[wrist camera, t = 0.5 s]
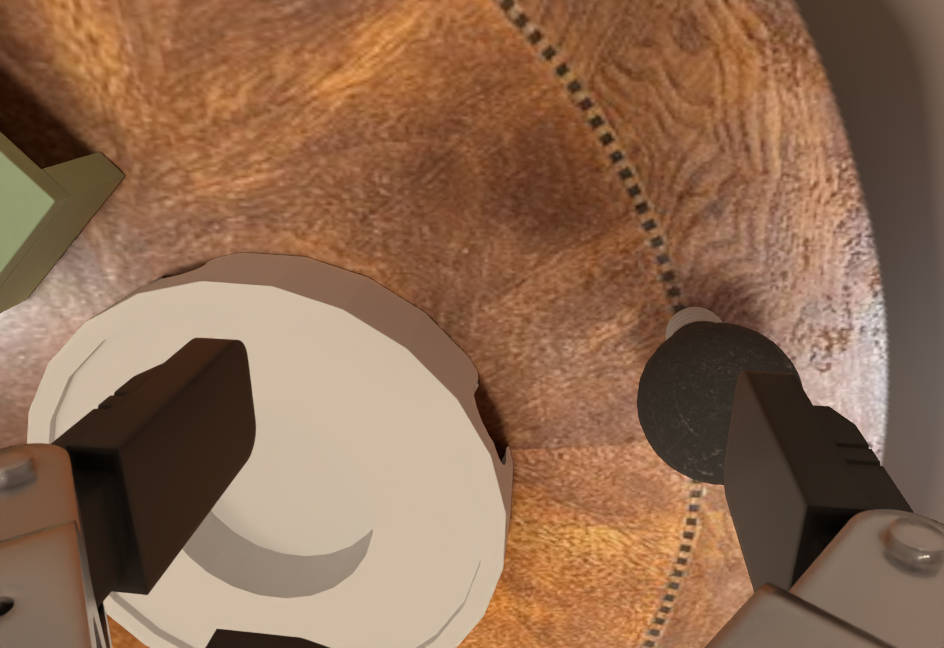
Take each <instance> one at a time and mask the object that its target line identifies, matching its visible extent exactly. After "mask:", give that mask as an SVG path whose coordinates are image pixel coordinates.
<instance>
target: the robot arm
mask: <svg viewBox="0 0 944 648" xmlns="http://www.w3.org/2000/svg"><path fill="white" fill-rule="evenodd" d="M255 437H256V419H255V411H254V403H253V394H252V386H251V378H250V370H249V361H248V354H247V350H246V347H245V345H244V344H243V342H242V341H240V340H233V339H215V338H198V337H196V338H193V339H192V340H190V341H189V342H188V343H187V344H186V345H184V346H183V347H182V348H181V349H180V350H178V351H177V352H176V353H175V354H174V355H172V356H171V357H170V358H169V359H168V360H166V361H165V362H164V363H162V364H160V365H158V366H155V367H153V368H151V369H149V370H147V371H144V372H142V373H140V374H138V375H136V376H133V377H132V378H131V379H130V380H129V381H127V382H126V383H125V384H124V385H122V386H121V387H120V388H119V389H117V390H116V391H115V392H114V396H112V395H110V396H109V397H108V398H106V399H105V400H104V401H103V402H101V403H100V404H99V405H98V409H93V410H92V411H90V412H89V413H88V414H87V415H85V416H84V417H83V418H82V419H81V420H79V421H78V422H77V423H76V424H74V425H73V426H72V427H71V428H69V429H68V430H67V431H66V432H65V433H63V434H62V435H61V436H60V437H58V438H57V439H56V440H55V441H53V442H52V443H51V444H45V443H29V444H21V445H15V446H10V447H6V448H2V449H0V648H112V643H111V637H110V631H109V625H108V619H107V615H106V611H105V606H104V602H103V601H104V600H105V599H106V598H107V597H108V595H109V594H110V593H111V592H122V593H131V594H141V595H148V594H149V593H150V591H151V590H152V589H153V587H154V586H155V585H156V583H157V582H158V581H159V579H160V578H161V577H162V575H163V574H164V573H165V571H166V570H167V569H168V567H169V566H170V565H171V563H172V562H173V561H174V559H175V558H176V556H177V555H178V554H179V552H180V551H181V550H182V548H183V547H184V546H185V544H186V543H187V542H188V540H189V539H190V538H191V536H192V535H193V534H194V532H195V531H196V530H197V528H198V527H199V526H200V524H201V523H202V521H203V520H204V519H205V517H206V516H207V515H208V513H209V512H210V511H211V509H212V508H213V507H214V505H215V504H216V503H217V501H218V500H219V499H220V497H221V496H222V495H223V493H224V492H225V491H226V489H227V488H228V487H229V485H230V484H231V482H232V481H233V480H234V478H235V477H236V476H237V474H238V473H239V472H240V470H241V469H242V468H243V466H244V465H245V464H246V462H247V461H248V459H249V458H250V456H251V453H252V451H253V447H254V443H255ZM724 488H725V495H726V500H727V503H728V506H729V510H730V513H731V516H732V520H733V523H734V526H735V530H736V533H737V536H738V540H739V543H740V546H741V550H742V553H743V556H744V560H745V563H746V566H747V570H748V573H749V576H750V580H751V583H752V586H753V590H754V594H753V595H752V596H751V597H750V598H749V599H748V601H747V602H746V603H745V604H744V605H743V606H742V607H741V608H740V609H739V610H738V612H737V613H736V614H735V615H734V616H733V617H732V618H731V619H730V620H729V621H728V622H727V624H726V625H725V626H724V627H723V628H722V629H721V630H720V631H719V632H718V633H717V635H716V636H715V637H714V638H713V639H712V640H711V641H710V642H709V643H708V644H707V645H706V647H705V648H944V524H942V523H940V522H938V521H936V520H933V519H930V518H927V517H925V516H922V515H918V514H915V513H914V512H913V511H912V509H911V508H910V506H909V505H908V503H907V502H906V500H905V499H904V497H903V496H902V494H901V493H900V491H899V490H898V488H897V487H896V485H895V484H894V482H893V481H892V479H891V478H890V476H889V475H888V473H887V472H886V470H885V469H884V467H883V466H880V461H879V460H878V458H877V457H876V455H875V454H874V452H873V451H872V449H869V445H868V443H867V442H866V440H865V439H864V437H863V436H862V434H861V433H860V431H859V430H858V428H857V427H856V425H855V424H853V423H852V422H850V421H849V420H848V419H846V418H845V417H843V416H842V415H840V414H839V413H838V412H836V411H835V410H833V409H832V408H830V407H829V406H813V405H812V403H811V402H810V400H809V398H808V397H807V395H806V393H805V391H804V390H803V388H802V386H801V385H800V383H799V381H798V380H797V378H796V376H795V375H794V374H793V373H783V372H766V371H748V370H742V371H741V372H740V374H739V376H738V379H737V383H736V388H735V395H734V401H733V408H732V414H731V421H730V427H729V434H728V440H727V447H726V454H725V461H724ZM206 648H330V647H327V646H324V645H321V644H318V643H316V642H313V641H310V640H307V639H304V638H300V637H291V636H282V635H272V634H263V633H254V632H244V631H235V630H225V629H216V631H215V632H214V634H213V636H212V637H211V639H210V641H209V642H208V644H207V646H206Z"/></svg>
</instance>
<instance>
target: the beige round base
mask: <svg viewBox="0 0 944 648" xmlns="http://www.w3.org/2000/svg"><path fill="white" fill-rule="evenodd" d="M196 337H198V338H215V339H233V340H240V341H242V342H243V344H244V345H245V347H246V350H247V354H248V361H249V370H250V378H251V386H252V394H253V403H254V411H255V419H256V437H255V443H254V447H253V451H252V453H251V456H250V458H249V459H248V461H247V462H246V464H245V465H244V466H243V468H242V469H241V470H240V472H239V473H238V474H237V476H236V477H235V478H234V480H233V481H232V482H231V484H230V485H229V487H228V488H227V489H226V491H225V492H224V493H223V495H222V496H221V497H220V499H219V500H218V501H217V503H216V504H215V505H214V507H213V508H212V509H211V511H210V512H209V513H208V515H207V516H206V517H205V519H204V520H203V521H202V523H201V524H200V526H199V527H198V528H197V530H196V531H195V532H194V534H193V535H192V536H191V538H190V539H189V540H188V542H187V543H186V544H185V546H184V547H183V548H182V550H181V551H180V552H179V554H178V555H177V556H176V558H175V559H174V561H173V562H172V563H171V565H170V566H169V567H168V569H167V570H166V571H165V573H164V574H163V575H162V577H161V578H160V579H159V581H158V582H157V583H156V585H155V586H154V587H153V589H152V590H151V591H150V593H149V594H148V595H141V594H131V593H122V592H111V593H110V594H109V595H108V597H107V598H106V599H105V600H104V601H103V602H104V606H105V611H106V613H107V614H108V615H109V616H110V617H111V618H113V619H114V620H115V621H116V622H118V623H119V624H120V625H121V626H123V627H124V628H125V629H126V630H128V631H129V632H130V633H131V634H132V635H134V636H135V637H136V638H137V639H139V640H140V641H141V642H142V643H144V644H145V645H146V646H148V647H150V648H206V646H207V644H208V642H209V641H210V639H211V637H212V636H213V634H214V632H215V631H216V629H225V630H235V631H244V632H254V633H263V634H272V635H282V636H291V637H300V638H304V639H307V640H310V641H313V642H316V643H318V644H321V645H324V646H327V647H330V648H456V647H457V646H458V645H459V644H460V643H461V642H462V640H463V639H464V638H465V637H466V636H467V635H468V634H469V632H470V631H471V630H472V629H473V628H474V627H475V625H476V624H477V623H478V622H479V621H480V620H481V618H482V617H483V616H484V614H485V612H486V609H487V607H488V605H489V602H490V600H491V597H492V595H493V592H494V590H495V587H496V585H497V582H498V580H499V577H500V575H501V572H502V570H503V566H504V559H505V551H506V544H507V537H508V530H509V523H510V516H511V499H512V481H513V460H512V456H511V452H510V448H509V446H508V447H507V448H506V451H505V453H504V454H503V456H502V458H501V460H500V459H499V457H498V454H497V452H496V449H495V445H494V442H493V441H492V439H491V438H490V436H489V434H488V432H487V430H486V429H485V427H484V425H483V423H482V420H481V417H480V415H479V412H478V410H477V406H476V402H475V398H474V393H475V391H476V390H477V388H478V386H479V382H478V371H477V370H476V368H475V366H474V364H473V363H472V361H471V359H470V358H469V357H468V356H467V355H466V354H465V353H464V352H463V351H462V350H461V349H460V348H459V347H458V346H457V345H456V344H455V343H454V342H453V341H452V339H451V338H450V337H449V336H448V335H447V334H446V333H445V332H444V331H443V330H442V329H441V328H440V327H439V326H438V325H437V324H436V323H435V322H434V321H433V320H432V319H431V318H430V317H429V316H428V315H427V314H426V313H425V312H423V311H422V310H420V309H419V308H417V307H415V306H414V305H412V304H411V303H409V302H407V301H406V300H404V299H402V298H401V297H399V296H398V295H396V294H394V293H393V292H391V291H390V290H388V289H386V288H385V287H383V286H382V285H380V284H378V283H377V282H375V281H373V280H372V279H370V278H369V277H366V276H363V275H360V274H357V273H354V272H350V271H347V270H344V269H341V268H338V267H335V266H332V265H329V264H326V263H323V262H320V261H317V260H314V259H311V258H308V257H303V256H288V255H274V254H259V253H244V252H241V253H236V254H231V255H226V256H221V257H216V258H214V259H212V260H210V261H208V262H207V264H206V265H204V266H202V267H200V268H198V269H195V270H193V271H190V272H187V273H184V274H180V275H176V276H172V277H168V278H163V276H161V277H159V278H157V279H156V280H154V281H152V282H150V283H148V284H146V285H145V286H143V287H141V288H139V289H137V290H136V291H134V292H132V293H131V294H129V295H128V296H126V297H124V298H123V299H121V300H120V301H118V302H117V303H115V304H113V305H112V306H110V307H109V308H107V309H105V310H104V311H102V312H101V313H99V314H98V315H96V316H94V317H93V318H91V319H90V320H88V321H86V322H85V323H84V324H83V325H82V326H81V327H80V329H79V330H78V331H77V332H76V333H75V334H74V335H73V336H72V337H71V339H70V340H69V341H68V342H67V343H66V344H65V345H64V346H63V347H62V349H61V350H60V351H59V352H58V353H57V354H56V355H55V356H54V357H53V359H52V360H51V361H50V362H49V363H48V365H47V368H46V370H45V373H44V375H43V378H42V380H41V383H40V385H39V388H38V390H37V393H36V395H35V398H34V400H33V403H32V405H31V408H30V410H29V418H28V436H27V444H29V443H45V444H51V443H52V442H53V441H55V440H56V439H57V438H58V437H60V436H61V435H62V434H63V433H65V432H66V431H67V430H68V429H69V428H71V427H72V426H73V425H74V424H76V423H77V422H78V421H79V420H81V419H82V418H83V417H84V416H85V415H87V414H88V413H89V412H90V411H92V410H93V409H98V405H99V404H100V403H101V402H103V401H104V400H105V399H106V398H108V397H109V396H110V395H112V396H114V392H115V391H116V390H117V389H119V388H120V387H121V386H122V385H124V384H125V383H126V382H127V381H129V380H130V379H131V378H132V377H133V376H136V375H138V374H140V373H142V372H144V371H147V370H149V369H151V368H153V367H155V366H158V365H160V364H162V363H164V362H165V361H166V360H168V359H169V358H170V357H171V356H172V355H174V354H175V353H176V352H177V351H178V350H180V349H181V348H182V347H183V346H184V345H186V344H187V343H188V342H189V341H190V340H192V339H193V338H196Z"/></svg>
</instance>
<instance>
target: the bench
mask: <svg viewBox="0 0 944 648" xmlns="http://www.w3.org/2000/svg"><path fill="white" fill-rule="evenodd" d="M124 176H125V175H124V174H123V173H122V172H121V171H120V170H119V169H118V168H117V167H116V166H114V165H113V164H112V163H111V162H110V161H109V160H108V159H107V158H106V157H105V156H104V155H103V154H102V153H100V152H97V153H94V154H90V155H87V156H84V157H80V158H77V159H74V160H70V161H67V162H64V163H60V164H57V165H53V166H50V167H47V168H43V169H40V168H39V167H38V166H37V165H36V164H35V163H34V162H33V161H32V160H31V159H29V158H28V157H27V156H26V155H25V154H24V153H23V152H22V151H21V150H20V149H19V148H17V147H16V146H15V145H14V144H13V143H12V142H11V141H10V140H9V139H8V138H7V137H5V136H4V135H3V134H2V133H1V132H0V313H1V312H3V311H5V310H7V309H9V308H11V307H13V306H15V305H17V304H19V303H21V302H22V301H24V300H26V299H27V298H28V297H29V296H30V294H31V293H32V292H33V291H34V289H35V288H36V287H37V286H38V284H39V283H40V282H41V281H42V279H43V278H44V277H45V276H46V274H47V273H48V272H49V271H50V269H51V268H52V267H53V266H54V264H55V263H56V262H57V261H58V259H59V258H60V257H61V256H62V254H63V253H64V252H65V251H66V249H67V248H68V247H69V246H70V244H71V243H72V242H73V241H74V239H75V238H76V237H77V236H78V234H79V233H80V232H81V231H82V229H83V228H84V227H85V226H86V224H87V223H88V222H89V221H90V219H91V218H92V217H93V216H94V214H95V213H96V212H97V211H98V209H99V208H100V207H101V206H102V204H103V203H104V202H105V201H106V199H107V198H108V197H109V196H110V194H111V193H112V192H113V191H114V189H115V188H116V187H117V185H118V184H119V183H120V182H121V180H122V179H123V178H124Z"/></svg>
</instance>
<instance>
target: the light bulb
mask: <svg viewBox="0 0 944 648" xmlns="http://www.w3.org/2000/svg"><path fill="white" fill-rule="evenodd" d="M742 370H748V371H766V372H783V373H793V374H794V375H795V376H796V378H797V380H798V381H799V383H800V385H801V386H802V384H801V380H800V378H799V375H798V372H797V370H796V369H795V367H794V365H793V363H792V362H791V360H790V359H789V358H788V357H787V356H786V354H785V353H784V352H783V351H782V350H781V349H780V348H779V347H778V346H777V345H776V344H775V343H774V342H772V341H771V340H769V339H768V338H766V337H765V336H763V335H761V334H760V333H758V332H756V331H753V330H751V329H748V328H745V327H742V326H739V325H735V324H729V323H723V322H722V321H721V319H720V318H719V317H718V316H717V315H716V314H714V313H713V312H712V311H710V310H708V309H706V308H702V307H688V308H685V309H683V310H681V311H679V312H677V313H676V314H675V315H674V316H672V318H671V319H670V321H669V322H668V324H667V327H666V333H665V342H664V343H662V344H661V345H660V346H659V347H658V349H657V350H656V351H655V353H654V354H653V355H652V356H651V358H650V359H649V360H648V362H647V364H646V365H645V368H644V371H643V373H642V375H641V378H640V382H639V389H638V396H637V408H638V416H639V421H640V424H641V426H642V429H643V431H644V433H645V436H646V438H647V440H648V442H649V443H650V445H651V446H652V448H653V450H654V451H655V452H656V453H657V455H658V456H659V457H660V458H661V459H662V460H663V461H664V462H666V463H667V464H668V465H669V466H670V467H672V468H673V469H675V470H676V471H678V472H679V473H681V474H684V475H686V476H688V477H690V478H692V479H695V480H698V481H701V482H705V483H710V484H719V485H724V461H725V454H726V447H727V440H728V434H729V427H730V421H731V414H732V408H733V401H734V395H735V388H736V383H737V379H738V376H739V374H740V372H741V371H742Z"/></svg>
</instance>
